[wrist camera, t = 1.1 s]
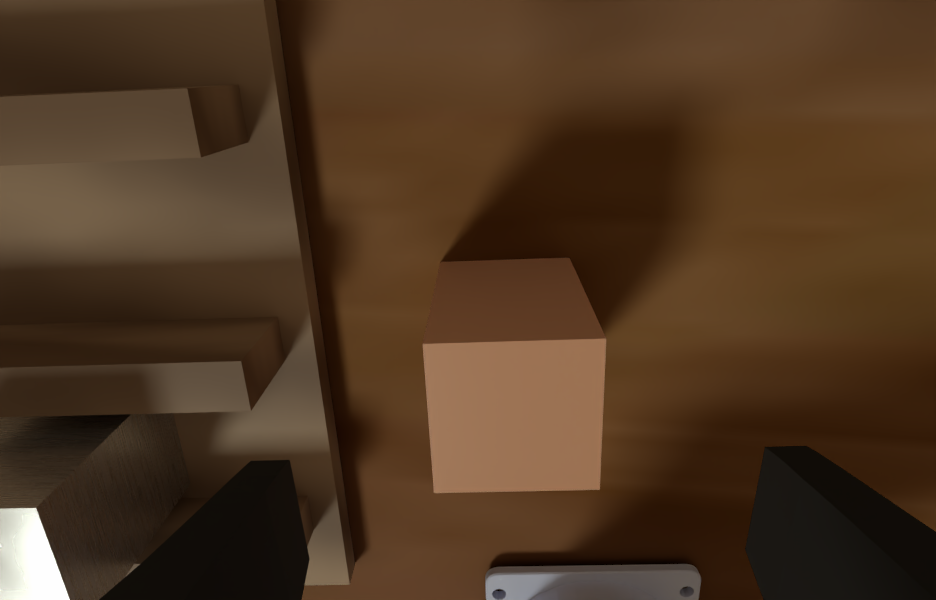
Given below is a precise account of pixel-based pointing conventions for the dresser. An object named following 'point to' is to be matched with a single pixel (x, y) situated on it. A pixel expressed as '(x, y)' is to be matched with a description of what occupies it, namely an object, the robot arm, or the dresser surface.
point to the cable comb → (165, 243)
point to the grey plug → (82, 500)
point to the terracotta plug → (513, 378)
